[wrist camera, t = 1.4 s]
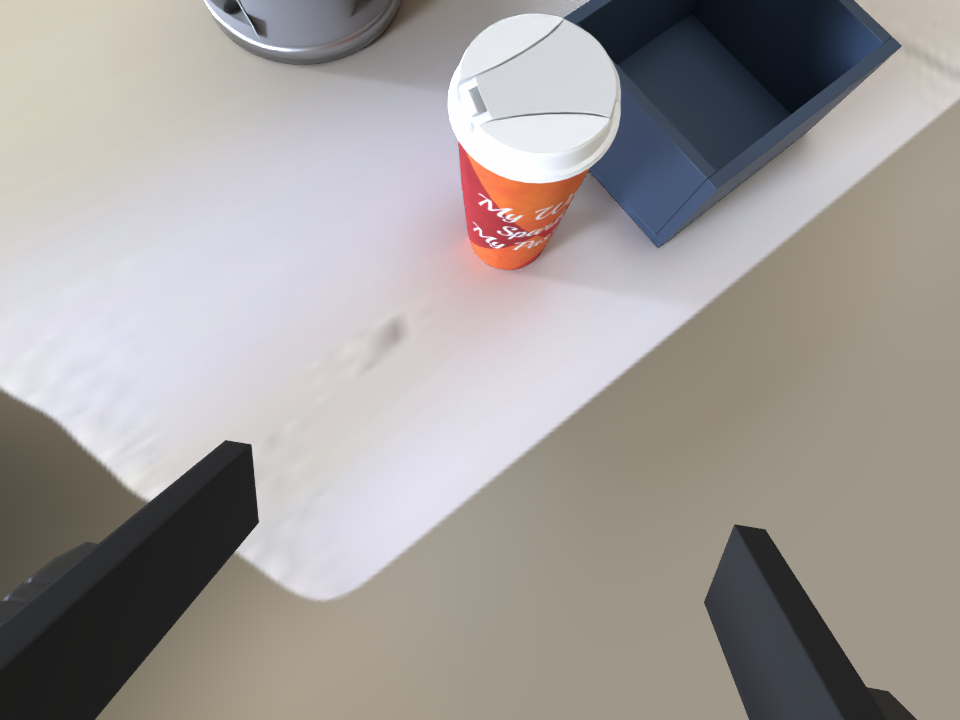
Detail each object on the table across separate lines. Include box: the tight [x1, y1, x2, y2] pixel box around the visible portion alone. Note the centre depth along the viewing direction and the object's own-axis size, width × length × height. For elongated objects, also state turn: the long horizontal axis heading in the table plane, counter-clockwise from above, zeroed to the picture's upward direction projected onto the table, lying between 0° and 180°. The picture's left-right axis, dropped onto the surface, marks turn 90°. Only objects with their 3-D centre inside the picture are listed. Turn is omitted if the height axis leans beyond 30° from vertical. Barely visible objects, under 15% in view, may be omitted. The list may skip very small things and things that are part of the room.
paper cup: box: [448, 13, 621, 270], centre depth 26 cm, size 8×8×14 cm
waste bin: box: [564, 0, 901, 248], centre depth 31 cm, size 14×16×8 cm
